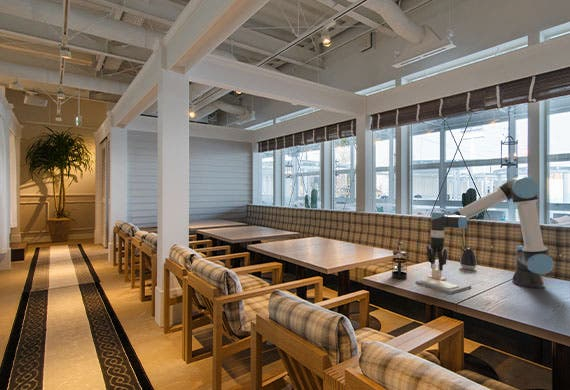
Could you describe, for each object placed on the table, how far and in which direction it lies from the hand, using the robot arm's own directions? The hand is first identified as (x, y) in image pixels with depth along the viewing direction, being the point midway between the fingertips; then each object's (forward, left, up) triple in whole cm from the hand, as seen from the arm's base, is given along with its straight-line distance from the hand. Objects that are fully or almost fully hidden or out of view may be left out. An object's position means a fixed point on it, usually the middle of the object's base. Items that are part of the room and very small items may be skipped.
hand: (436, 274), depth 199 cm
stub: (0, 0, -2) cm, 2 cm away
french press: (+17, +14, -4) cm, 22 cm away
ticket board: (-7, +5, -4) cm, 10 cm away
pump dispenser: (+7, -46, -4) cm, 47 cm away
